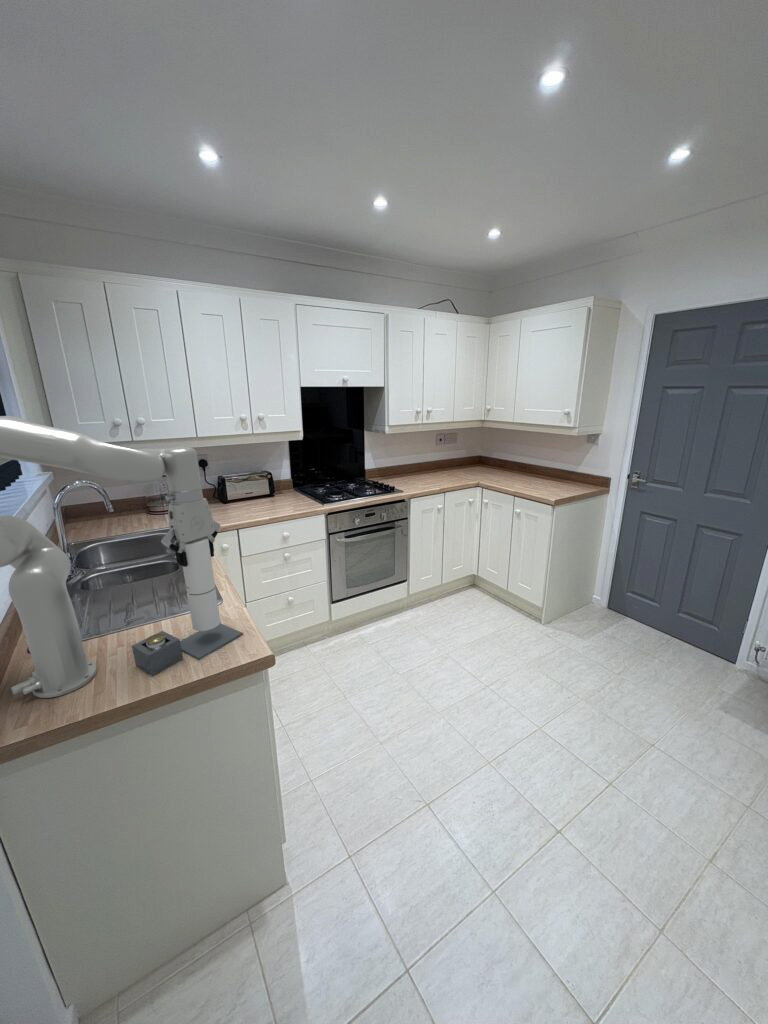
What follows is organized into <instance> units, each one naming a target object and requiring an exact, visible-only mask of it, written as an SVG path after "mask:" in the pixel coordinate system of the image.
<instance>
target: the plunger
mask: <svg viewBox="0 0 768 1024" xmlns="http://www.w3.org/2000/svg"><path fill="white" fill-rule="evenodd" d="M145 639H146V645H147V648H148V649H150V650H153V649H155V648H157V647H159V646H161V645H163V644H165V643H166V642H165V637H164V635H163V634H157V633H155V634H153V635H151V636H148V637H147V638H145Z"/></svg>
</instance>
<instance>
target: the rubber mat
mask: <svg viewBox="0 0 768 1024" xmlns="http://www.w3.org/2000/svg"><path fill="white" fill-rule="evenodd" d="M241 635H242V636H243V635H244V632H242V631H240V630H238V629H235V628H233V627H230V626H228V625H225V624H223V623H221V622H220V624H219V625H218V626H217V627H215V628H213V629H210V630H206V631H196V632H195V633H192V634H191V635H189V636H186V637H184V638H183V639H180V644H181V650H182V653H185V654H186V655H189V656H190V657H192V658H194V659H196V660H198V661H200V660H202V659H204V658H205V657H207V656H209V655H211V654H213V653H215V652H216V651H217V650H219V649H221V648H223V647H225V646H226V645H228V644H229V643H231V642H234V640H236V639H238V638H239V637H242V636H241Z"/></svg>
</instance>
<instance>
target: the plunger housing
mask: <svg viewBox="0 0 768 1024" xmlns="http://www.w3.org/2000/svg"><path fill="white" fill-rule="evenodd" d="M156 634H163V635H164V637H165V642H166V643H165V644H163V645H161V646H159V647H157V648H155V649H153V650H150V649H148V648H147V645H146V639H147V638H144V639H143V640H140V641H138V642H136V643H134V644H132V645H131V648H132V649H131V650H132V653H133V654H132V655H133V659H134V664H135V667H136V668H139V669H140V670H142V671H143V672H144V673H146V674H148V675H150V676H151V677H155V676H156V675H159V674H160V673H162V672H164V671H165V670H167V669H168V668H171V667H172V666H175V665H176V664H178V663H180V662H181V661H183V660H184V657H183V651H182V650H181V644H180V641H181V639H180V638H178V637H176V636H174V635H172V634H170V633H168V632H166V631H164V630H161V631H159V632H157V633H156Z"/></svg>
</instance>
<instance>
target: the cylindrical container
mask: <svg viewBox="0 0 768 1024" xmlns="http://www.w3.org/2000/svg"><path fill="white" fill-rule="evenodd" d="M179 544H180V543H179ZM183 552H185V553H186V558H187V564H188V565H187V566H186V567H184V566H182V570H183V576H184V583H185V588H186V594H187V600H188V605H189V606H188V607H189V613H190V619H191V624H192V625H191V626H192V629H193V630H194V631H196V632H198V631H206V630H210V629H213V628H215V627H217V626H218V625H219V624H220V623H221V618H220V617H221V616H220V610H219V602H218V595H217V588H216V583H215V581H216V580H215V576H214V568H213V560H212V557H211V554H210V547H209V540H208V537H203V538H200V539H197V540H194V541H190V542H187V543H185V546H184V549H183Z"/></svg>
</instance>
